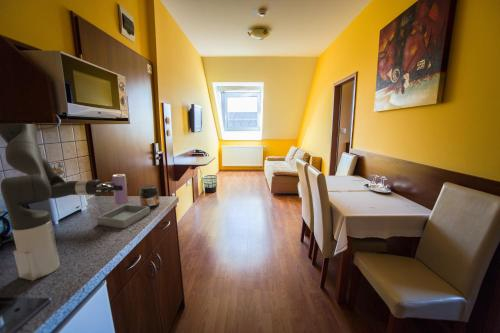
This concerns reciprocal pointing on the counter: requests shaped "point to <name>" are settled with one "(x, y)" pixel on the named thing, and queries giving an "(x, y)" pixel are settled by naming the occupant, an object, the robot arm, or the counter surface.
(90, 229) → the counter surface
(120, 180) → the beverage can
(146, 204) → the supplement container
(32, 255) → the robot arm
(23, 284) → the counter surface
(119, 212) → the tray
